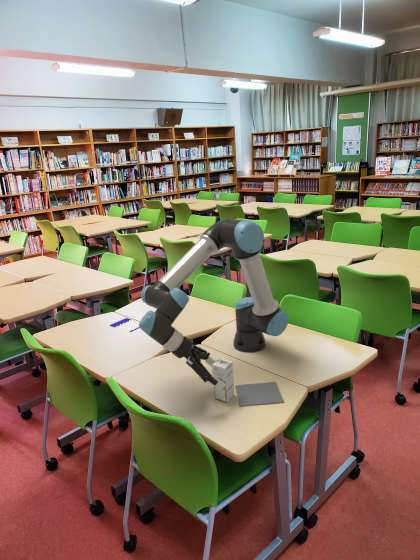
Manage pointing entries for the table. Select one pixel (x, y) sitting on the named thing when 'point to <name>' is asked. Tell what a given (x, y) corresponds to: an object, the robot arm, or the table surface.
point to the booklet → (122, 323)
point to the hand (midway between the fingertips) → (221, 377)
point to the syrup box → (224, 379)
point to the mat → (258, 394)
